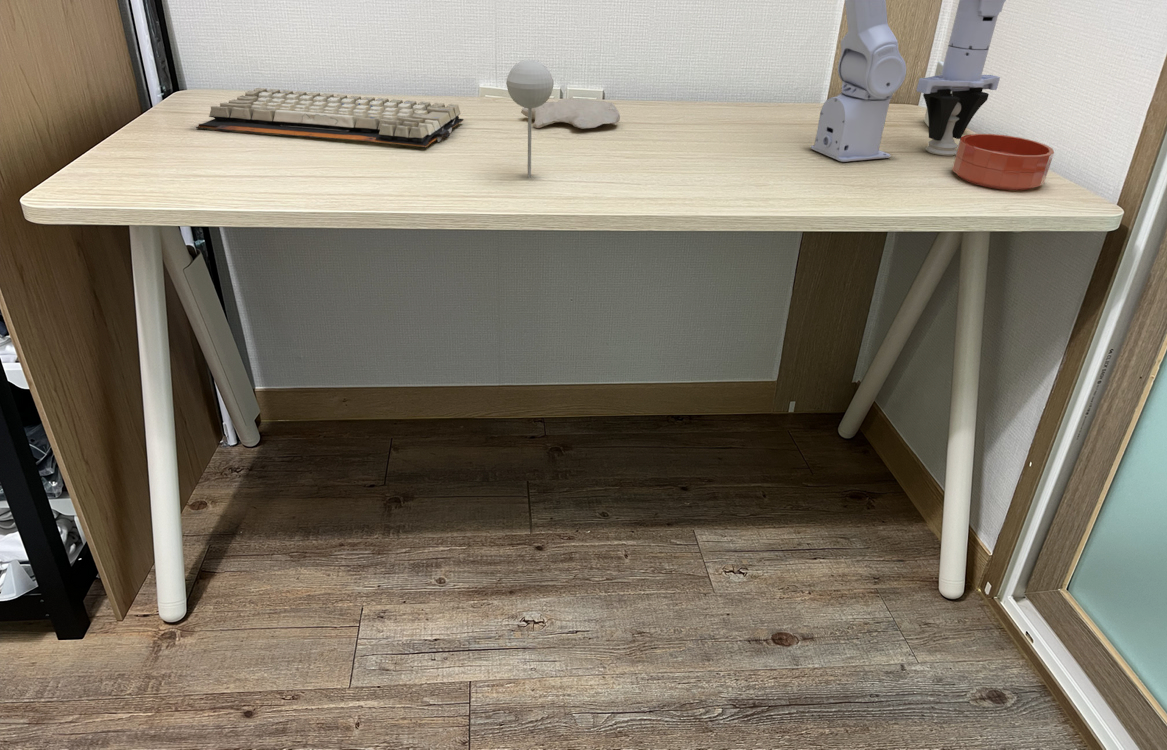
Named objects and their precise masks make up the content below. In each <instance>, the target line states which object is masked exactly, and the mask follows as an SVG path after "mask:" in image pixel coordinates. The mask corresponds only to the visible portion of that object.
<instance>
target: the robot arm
mask: <svg viewBox="0 0 1167 750" xmlns="http://www.w3.org/2000/svg"><path fill="white" fill-rule="evenodd" d="M1006 1H1007V0H959V1H958V4H957V10H956V13H955V17H954V21H953V24H952V29H951V32H950V36H949V40H948V45H947V48H946V52H945V56H944V61H943V62H944V64H943V68H942V72H941V75H936V76H935V75H931V76H927V77H919V79H918V82H917V86H916V91H915V92H918V93H921V94H923V95H922V96H923V99H924V101H925V106H926V110H928V119H929V127H928V138H929V139H930V140H933V139H934V140H937V141H941V139H942V137H943V135H944V133H945V130H946V126H947V123H948V120H949V118H950V115H951V113H952V111H953V109H954V108H955V106H956V104H957V103H958V102H959V103H960V104H961V111H960V112H959V114H957V115H956V117H958V118H959V120H957V121H956V122H955V125H954V128H953V131H952V134H953V139H955V140H960V138H961V137H963V136H964V133H965V132H966V129H967V127H968V126H969V124H970V122H971V121H972V119H973V118H974V116H975V115H976V113H977V112H978V111H979V109H981V108H982V106H983V105H984V104H985V103H986V102H987V101H988V99H989V95H990V94H989V93H988V92H985V91H984V90H990V91H997V90H998V86H999V83H1000V79H1001V76H998V75H993V74H983V71H984V68H985V65H986V60H987V58H988V53H989V50H990V46H991V43H992V39H993V35H994V33H995V29H996V24H997V21H998V17H999V15H1000V13H1002V11H1003V9H1004V4H1005V2H1006ZM844 6H845V15H846V23H847V24H846V25H847V32H846V34H845V35H844V36H843V38H842V39H841V41H840V56H839V59H838V62H837V75H838V77H839V79H840V81H841V82H842V83H841V92H840V93H839V94H837V95H835V96H832V97H829V98H828V99H826V100H825V101H824V103H823V104H822V106H821V108H820V113H819V118H818V124H817V129H816V135H815V140H814V145H813V144H812V145H811V146H810V149H811V150H813V151H815V152H817V153H820V154H822V155H824V156H827V157H829V158H831V159H834V160H836V161H838V162H842V163H846V162H857V161H867V160H878V159H889V158H891V154H890V153H888V152H886V151H883V150H880V146H881V142H882V138H883V133H884V129H885V125H886V119H887V115H888V110H889V106H890V102H891V100H892V99H893V96H894V95H893V94H895V93H897V91H898V90H899V89H900V88H901V86H902V85H903V83H904V81H905V79H906V75H907V64H906V61H905V59H904V58H903V56H902V55H901V53H900V50H899V41H898V39H897V37H896V36H895V34H894V33H893V31H892V29H891V27H890V26H889V24H888V23H889V22H888V10H887V1H886V0H844ZM953 86H954V87H953ZM951 91H952V94H950V93H951Z"/></svg>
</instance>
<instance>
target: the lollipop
mask: <svg viewBox="0 0 1167 750" xmlns="http://www.w3.org/2000/svg"><path fill="white" fill-rule="evenodd" d="M505 84H506V88H507V92H508V94H509V96H510V98H511V100H512V101H513V102H514V103H515V104H516V105H518V106H520V107H522V108H528V117H527V178H529V179H530V178H532V122H533V121H532V120H533V119H532V108H537V107H539V106H541V105H543V104H544V103H545V102H548V100H549V99H550V98H551V96H552V93H553V91H554V90H553V89H554V78H553V76H552V74H551V71H550V70H549V68H548V67H547V66H546V65H545V64H544V63H543V62H540V61H539V60H535V59H524V60H521V61H519V62H517V63H516V64H515V65H513V66H512V67H511V69H510V71H509V73H508V75H507V77H506V83H505Z"/></svg>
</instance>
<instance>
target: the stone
mask: <svg viewBox="0 0 1167 750" xmlns="http://www.w3.org/2000/svg"><path fill="white" fill-rule="evenodd" d="M520 113H521V114H522V115H523V116H525V117H527V118H528V108H524V107H522V108H521V111H520ZM620 119H621V114H620V112H619V110H618V108H617V107H616V106H615V104H614V103H613V102H612V101H605V100H597V99H589V98H583V97H582V98H574V97H573V98H572V97H569V98H562V99H559V100H557V101H546V102H545V103H544V104H543V105H541V106H539V107H537V108H532V120H534V122H533V124H532V127H533V128H537V129H540V128H543V127H546V126H548V125H552V124H554V123H565V124H569V125H572V126H573V127H575V128H578V129H581V130H583V129H584V130H585V129H593V128H597V127H600V126H602V125H608V124H609V125H611V124H612V125H616V124H618V123H619V122H620Z"/></svg>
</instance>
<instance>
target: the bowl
mask: <svg viewBox="0 0 1167 750" xmlns="http://www.w3.org/2000/svg"><path fill="white" fill-rule="evenodd" d="M957 146H958V147H957V148H956V151H957V153H956V154H955V155H954V156H955V157H954V160H953V164H952V167H951V169H952V170H951V171H952V172H953V173H955V174H956V175H957V176H958V177H959V178H960V179H962V180H963V181H965V182H967V183H971V184H973V185H975V186H981V187H983V188H990V189H996V190H1003V191H1028V190H1032V189H1035V188H1038V187H1041V186H1042V185H1044V184H1045V182H1046V179H1047V175H1048V172H1049V170H1050V166H1051V164H1052V160H1053V157H1054V155H1055V151H1054V149H1053V147H1050V146H1049V145H1047V144H1045V143H1042V142H1040V141H1036V140H1032V139H1028V138H1024V137H1019V136H1014V135H1013V136H1012V135H1007V134H996V133H971V134H964V135H962V137H961V138H960V139H959V142H958V144H957Z"/></svg>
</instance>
